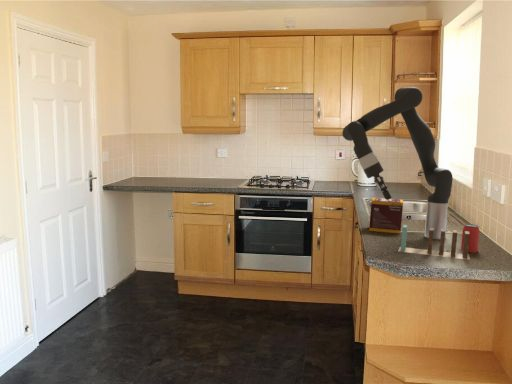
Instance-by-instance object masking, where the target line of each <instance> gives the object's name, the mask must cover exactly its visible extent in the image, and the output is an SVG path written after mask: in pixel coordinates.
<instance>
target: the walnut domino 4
mask: <svg viewBox="0 0 512 384" xmlns="http://www.w3.org/2000/svg"><path fill="white" fill-rule="evenodd" d="M469 235H470V233H469V231H465V234H464V245H463V250H462V254H463V258H467V256H468V255H469V252H468V246H469Z"/></svg>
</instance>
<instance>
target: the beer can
mask: <svg viewBox="0 0 512 384" xmlns="http://www.w3.org/2000/svg"><path fill="white" fill-rule="evenodd" d="M479 227H480V226H479V225H478V224H474V223H464V226H463V228H462V235H461V243H460V244H461V245H460V249H461V251H463V245H464V234H465V231H469V233H470V235H469V246H468V253H477V252H478V251H479V250H478V249H479V241H480V240H479V239H480V228H479Z"/></svg>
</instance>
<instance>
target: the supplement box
mask: <svg viewBox="0 0 512 384" xmlns="http://www.w3.org/2000/svg"><path fill="white" fill-rule="evenodd" d="M403 211H404V200H403V199H398V198H391V199H389V200H387V199H385V197H384V198H381V197H372V198H371V202H370V214H369V215H370V216H369V229H368V231H369V232H378V233H379V232H380V233H390V234H402V222H403V220H402V219H403Z"/></svg>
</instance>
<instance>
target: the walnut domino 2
mask: <svg viewBox="0 0 512 384" xmlns="http://www.w3.org/2000/svg"><path fill="white" fill-rule="evenodd" d="M445 240H446V238H445V229H441V237H440V239H439V250H438V251H439V255H442V256H443V252H445ZM442 256H441V257H442Z"/></svg>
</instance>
